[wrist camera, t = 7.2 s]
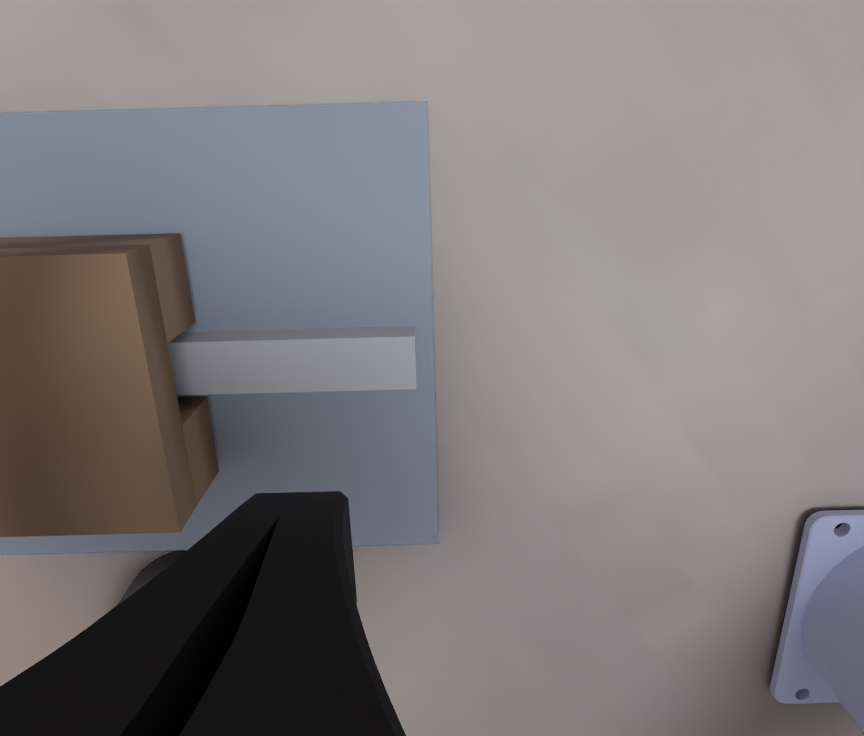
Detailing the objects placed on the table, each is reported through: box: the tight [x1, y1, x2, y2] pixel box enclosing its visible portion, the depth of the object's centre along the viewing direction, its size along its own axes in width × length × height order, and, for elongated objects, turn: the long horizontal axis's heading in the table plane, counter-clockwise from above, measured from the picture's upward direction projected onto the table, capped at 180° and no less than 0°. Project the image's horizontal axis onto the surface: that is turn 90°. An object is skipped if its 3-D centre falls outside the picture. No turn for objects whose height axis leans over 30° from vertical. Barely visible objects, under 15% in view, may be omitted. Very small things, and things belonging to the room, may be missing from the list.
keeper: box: [0, 233, 219, 537], centre depth 16 cm, size 5×7×3 cm
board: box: [0, 102, 439, 555], centre depth 16 cm, size 14×13×4 cm
